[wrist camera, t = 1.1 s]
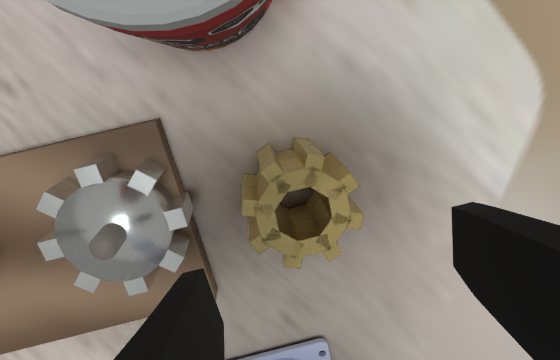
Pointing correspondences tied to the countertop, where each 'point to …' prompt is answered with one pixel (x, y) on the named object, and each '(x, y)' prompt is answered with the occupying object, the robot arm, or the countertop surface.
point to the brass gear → (303, 219)
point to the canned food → (173, 19)
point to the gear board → (60, 272)
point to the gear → (117, 222)
